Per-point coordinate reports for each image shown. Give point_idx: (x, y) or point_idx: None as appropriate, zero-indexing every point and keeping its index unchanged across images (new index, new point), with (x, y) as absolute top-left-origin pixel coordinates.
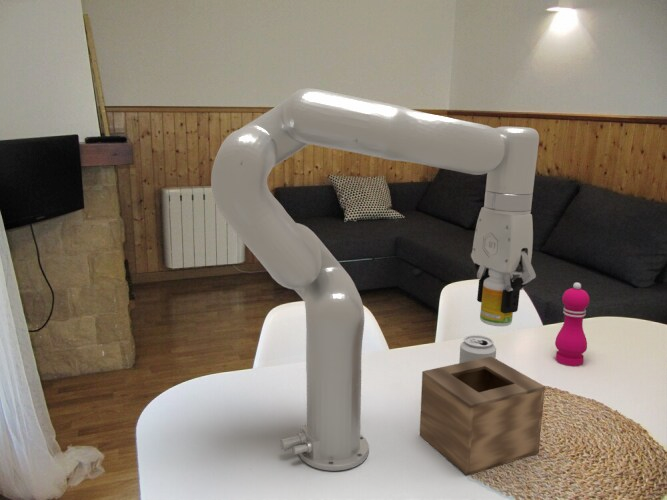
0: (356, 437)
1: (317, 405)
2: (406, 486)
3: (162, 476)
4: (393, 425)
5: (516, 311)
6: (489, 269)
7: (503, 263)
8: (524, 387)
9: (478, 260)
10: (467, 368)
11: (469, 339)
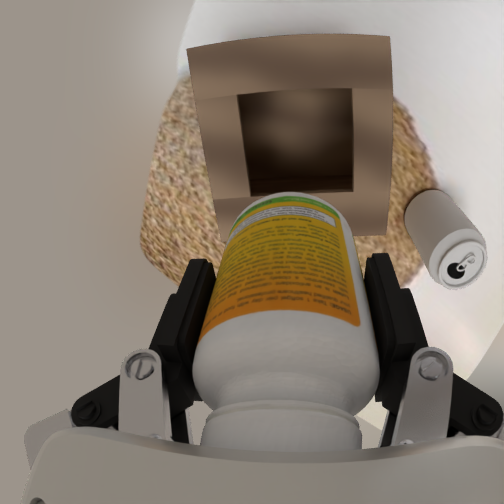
0: None
1: None
2: None
3: None
4: (395, 24)
5: None
6: (316, 446)
7: (64, 497)
8: (228, 203)
9: (429, 480)
10: (360, 145)
11: (479, 258)
